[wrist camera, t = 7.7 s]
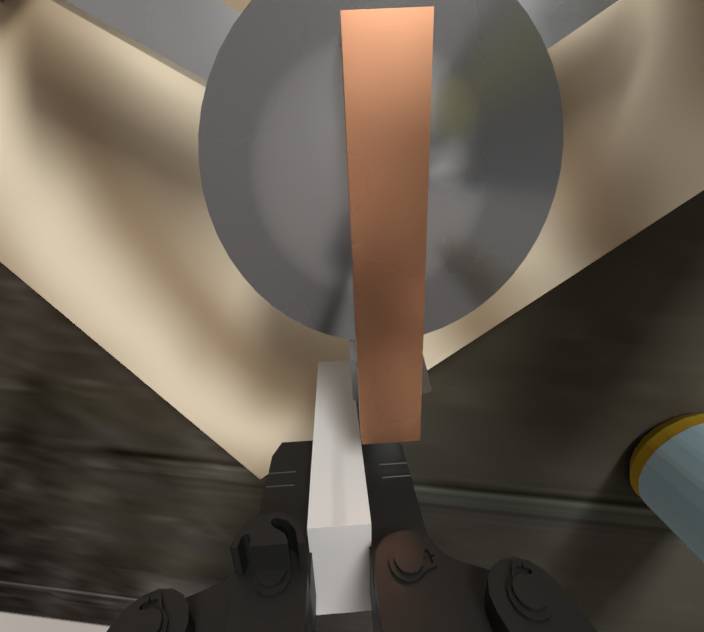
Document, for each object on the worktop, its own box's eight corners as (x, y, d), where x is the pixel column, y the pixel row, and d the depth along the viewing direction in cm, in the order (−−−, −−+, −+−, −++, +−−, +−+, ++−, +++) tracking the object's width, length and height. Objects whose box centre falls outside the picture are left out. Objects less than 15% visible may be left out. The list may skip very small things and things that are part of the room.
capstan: (-11, -75, 9) (-1128, -922, 2) (690, -100, 9) (1639, -875, 3) (154, 428, 15) (3, 626, 8) (574, 399, 16) (762, 565, 9)
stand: (471, -782, 7) (607, -1760, 4) (733, 159, 14) (867, 150, 11) (-149, 81, 12) (-354, 36, 8) (278, 459, 19) (264, 521, 15)
